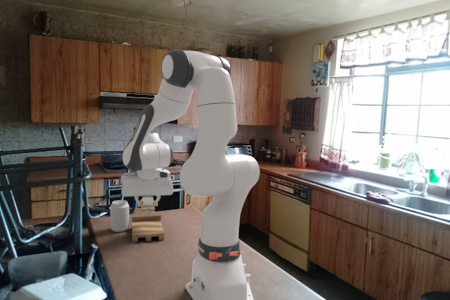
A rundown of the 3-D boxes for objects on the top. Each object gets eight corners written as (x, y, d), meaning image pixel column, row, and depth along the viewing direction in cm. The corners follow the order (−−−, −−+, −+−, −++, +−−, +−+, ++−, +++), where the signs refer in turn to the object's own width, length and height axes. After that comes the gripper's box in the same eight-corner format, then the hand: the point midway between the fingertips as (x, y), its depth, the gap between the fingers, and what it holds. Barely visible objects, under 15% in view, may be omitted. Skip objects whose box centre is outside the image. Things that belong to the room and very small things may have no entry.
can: (123, 233, 135) (123, 205, 133) (106, 231, 136) (106, 203, 135) (132, 227, 142) (132, 200, 141) (116, 225, 144) (116, 198, 142)
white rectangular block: (152, 204, 131) (153, 197, 131) (143, 205, 130) (143, 197, 130) (151, 200, 138) (151, 193, 138) (142, 200, 137) (142, 193, 137)
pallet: (154, 213, 130) (154, 206, 130) (141, 214, 129) (141, 206, 129) (152, 205, 140) (153, 199, 140) (140, 206, 139) (140, 199, 138)
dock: (164, 240, 130) (164, 227, 129) (132, 242, 126) (132, 229, 126) (160, 226, 145) (160, 215, 144) (132, 227, 142) (132, 216, 141)
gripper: (120, 174, 127) (120, 209, 128) (174, 173, 132) (173, 207, 134) (121, 171, 133) (120, 204, 134) (172, 170, 138) (171, 202, 140)
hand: (147, 205), depth 134 cm, fingers closed on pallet, 5 cm apart
